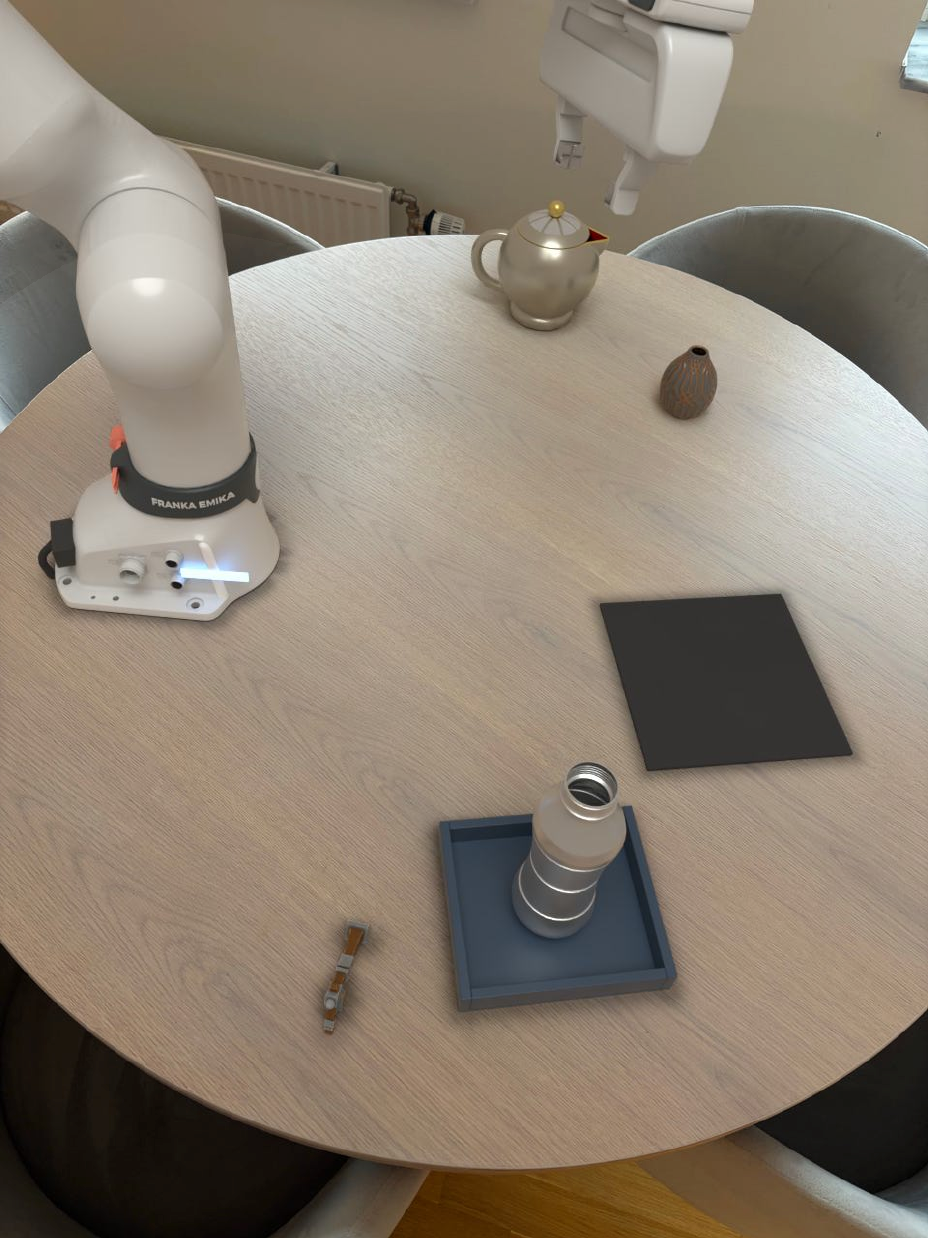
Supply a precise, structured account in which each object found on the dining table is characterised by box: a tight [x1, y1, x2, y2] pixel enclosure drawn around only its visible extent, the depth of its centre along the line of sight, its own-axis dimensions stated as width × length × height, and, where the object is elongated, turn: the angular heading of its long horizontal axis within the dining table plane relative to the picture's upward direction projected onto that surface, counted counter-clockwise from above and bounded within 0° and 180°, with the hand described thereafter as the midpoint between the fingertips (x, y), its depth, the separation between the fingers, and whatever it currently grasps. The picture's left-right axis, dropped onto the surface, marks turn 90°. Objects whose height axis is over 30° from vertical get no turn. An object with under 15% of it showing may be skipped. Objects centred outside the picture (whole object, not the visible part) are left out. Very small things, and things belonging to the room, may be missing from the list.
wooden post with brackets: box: [323, 918, 371, 1036], centre depth 71 cm, size 2×8×4 cm, turn 168°
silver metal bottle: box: [512, 760, 626, 939], centre depth 70 cm, size 6×7×20 cm
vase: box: [659, 344, 718, 420], centre depth 118 cm, size 7×7×9 cm
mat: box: [599, 593, 854, 772], centre depth 94 cm, size 20×20×1 cm
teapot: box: [470, 199, 611, 331], centre depth 127 cm, size 18×14×16 cm
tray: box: [437, 805, 678, 1013], centre depth 76 cm, size 17×15×3 cm
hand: (590, 187), depth 70 cm, fingers open, 8 cm apart
